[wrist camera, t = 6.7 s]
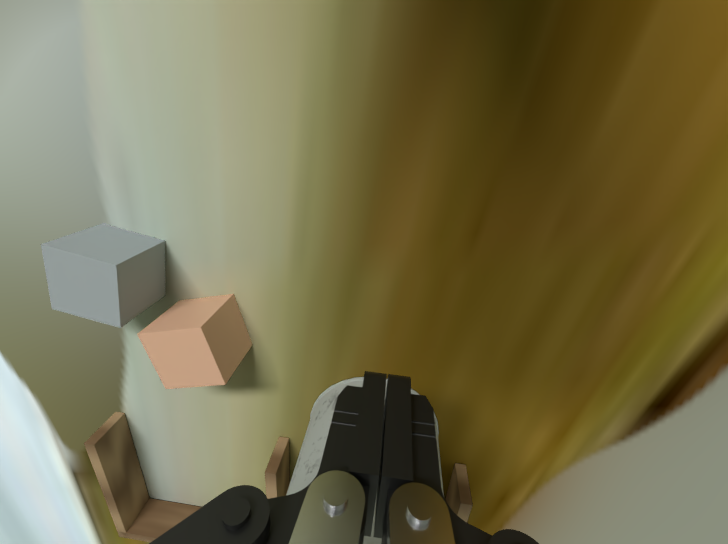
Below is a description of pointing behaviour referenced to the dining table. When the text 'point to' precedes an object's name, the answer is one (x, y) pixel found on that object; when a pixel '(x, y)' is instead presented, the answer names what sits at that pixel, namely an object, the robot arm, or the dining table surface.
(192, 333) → the block terracotta
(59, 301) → the block slate
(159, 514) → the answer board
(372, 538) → the speckled white canister
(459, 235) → the dining table surface
